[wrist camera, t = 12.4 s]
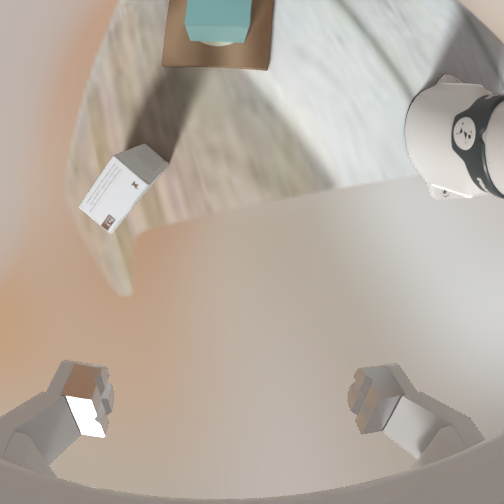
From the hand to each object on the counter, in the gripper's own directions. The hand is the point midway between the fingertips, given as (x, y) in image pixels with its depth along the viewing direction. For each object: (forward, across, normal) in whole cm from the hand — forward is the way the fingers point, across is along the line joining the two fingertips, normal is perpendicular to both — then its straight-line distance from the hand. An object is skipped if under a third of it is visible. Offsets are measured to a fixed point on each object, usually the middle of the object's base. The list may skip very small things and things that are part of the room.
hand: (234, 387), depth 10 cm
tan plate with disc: (+31, +2, -21) cm, 37 cm away
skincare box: (+31, +10, -2) cm, 33 cm away
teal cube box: (+30, +2, -21) cm, 36 cm away
